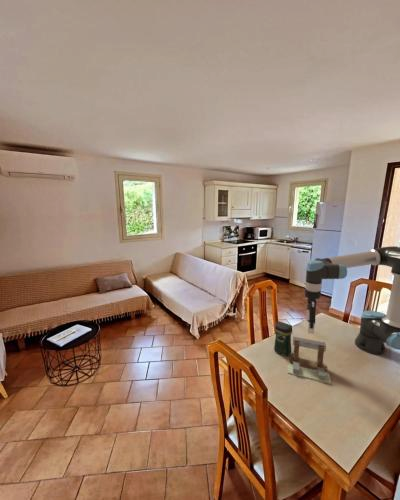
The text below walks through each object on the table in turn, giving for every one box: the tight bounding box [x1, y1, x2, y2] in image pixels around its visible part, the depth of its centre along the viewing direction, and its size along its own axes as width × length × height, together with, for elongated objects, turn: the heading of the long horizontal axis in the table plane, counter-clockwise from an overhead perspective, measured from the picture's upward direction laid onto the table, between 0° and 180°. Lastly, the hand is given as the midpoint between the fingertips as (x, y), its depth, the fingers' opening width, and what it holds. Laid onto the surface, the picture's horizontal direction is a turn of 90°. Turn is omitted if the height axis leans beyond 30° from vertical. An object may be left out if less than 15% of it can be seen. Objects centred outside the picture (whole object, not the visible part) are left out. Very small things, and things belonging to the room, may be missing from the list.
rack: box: [289, 342, 327, 372], centre depth 122 cm, size 18×6×13 cm, turn 68°
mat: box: [287, 362, 332, 385], centre depth 116 cm, size 20×7×3 cm, turn 68°
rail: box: [292, 336, 327, 352], centre depth 121 cm, size 16×3×3 cm, turn 68°
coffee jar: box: [273, 320, 293, 357], centre depth 133 cm, size 10×8×19 cm
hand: (309, 326), depth 120 cm, fingers open, 13 cm apart
